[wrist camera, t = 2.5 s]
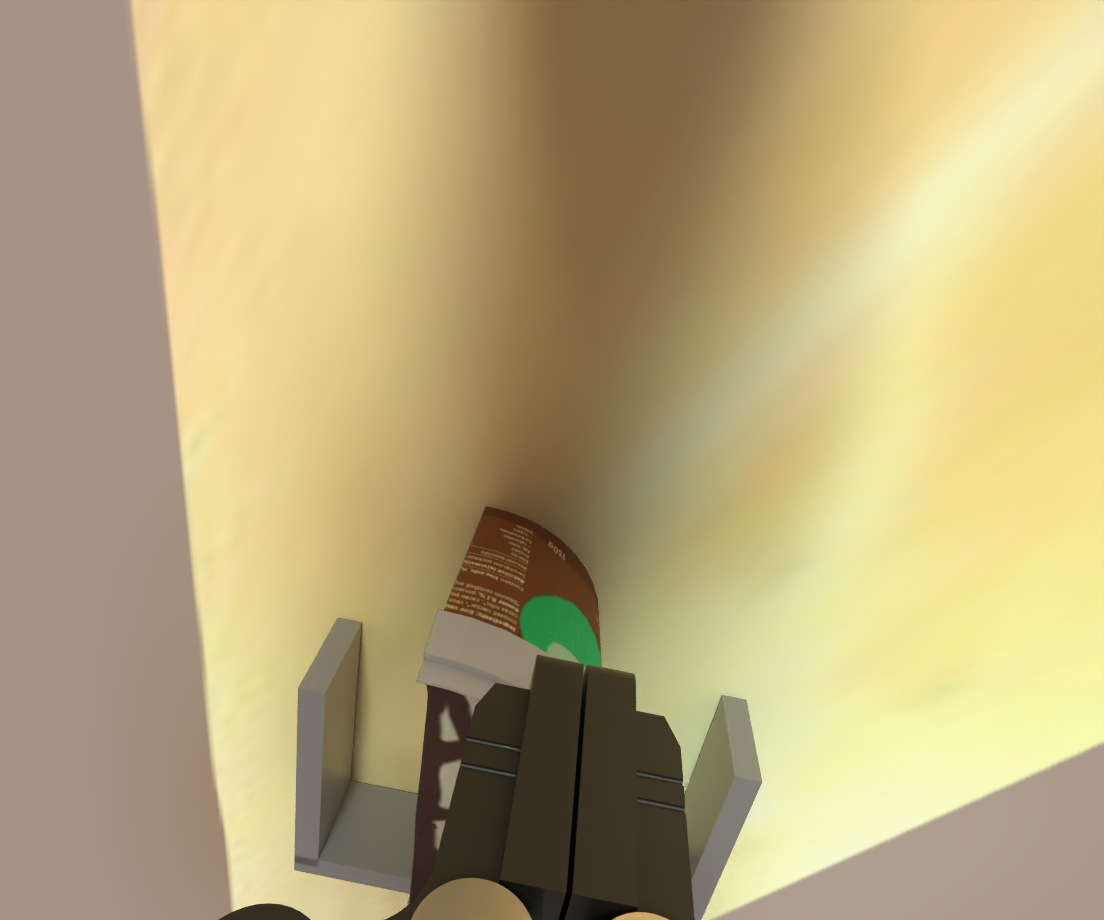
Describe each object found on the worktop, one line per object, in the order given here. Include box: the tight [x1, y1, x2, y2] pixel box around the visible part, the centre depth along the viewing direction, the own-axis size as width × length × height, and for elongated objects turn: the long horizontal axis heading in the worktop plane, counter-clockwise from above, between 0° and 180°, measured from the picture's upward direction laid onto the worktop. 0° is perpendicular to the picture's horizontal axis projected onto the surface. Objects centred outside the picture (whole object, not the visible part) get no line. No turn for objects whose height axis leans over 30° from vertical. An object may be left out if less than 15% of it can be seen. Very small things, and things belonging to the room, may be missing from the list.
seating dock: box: [294, 618, 762, 920], centre depth 30 cm, size 10×17×4 cm, turn 80°
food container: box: [407, 507, 602, 906], centre depth 25 cm, size 12×6×10 cm, turn 172°
